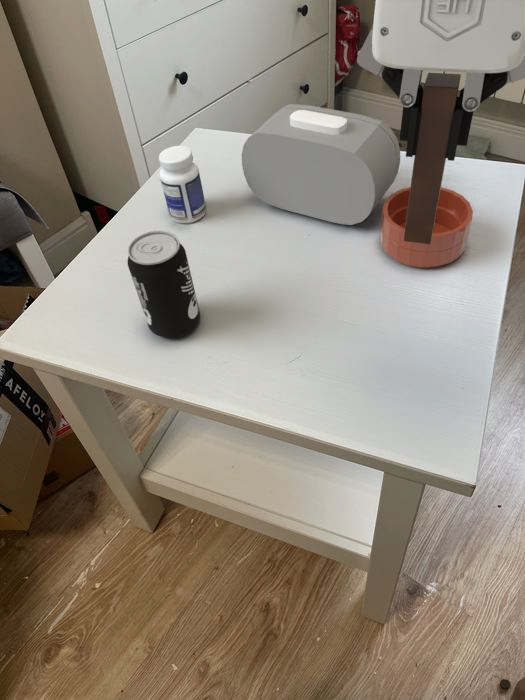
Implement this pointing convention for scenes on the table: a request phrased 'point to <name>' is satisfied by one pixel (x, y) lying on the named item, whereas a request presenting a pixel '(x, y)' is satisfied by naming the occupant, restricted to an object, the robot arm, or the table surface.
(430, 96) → the stick
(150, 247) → the beverage can
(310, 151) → the alarm clock
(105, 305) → the table surface
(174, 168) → the pill bottle
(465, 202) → the bowl
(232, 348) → the table surface
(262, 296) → the table surface
